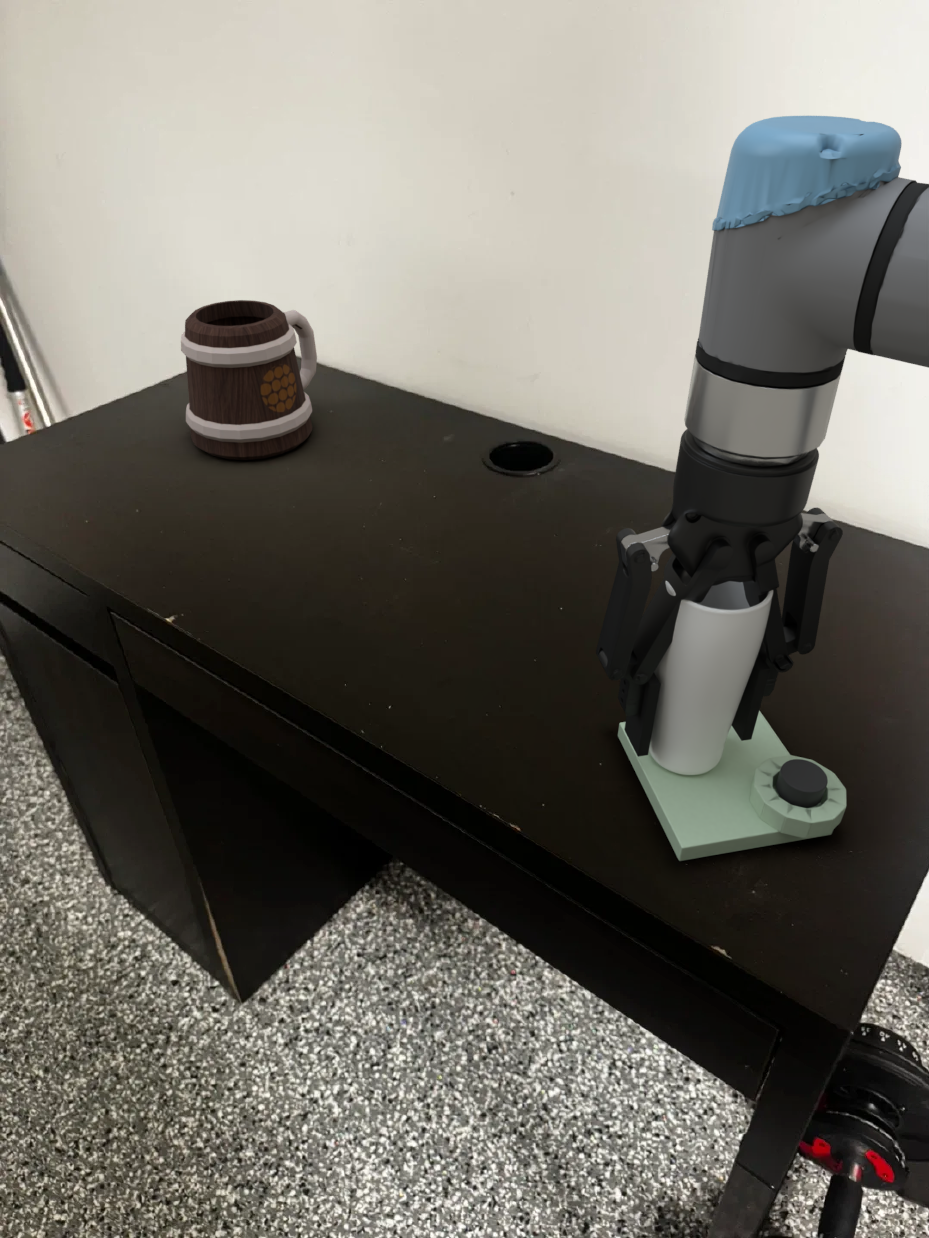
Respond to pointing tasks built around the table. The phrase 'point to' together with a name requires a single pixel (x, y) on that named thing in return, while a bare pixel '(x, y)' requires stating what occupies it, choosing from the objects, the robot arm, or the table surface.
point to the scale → (734, 798)
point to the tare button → (801, 783)
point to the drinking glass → (705, 676)
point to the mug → (248, 379)
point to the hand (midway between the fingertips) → (687, 734)
